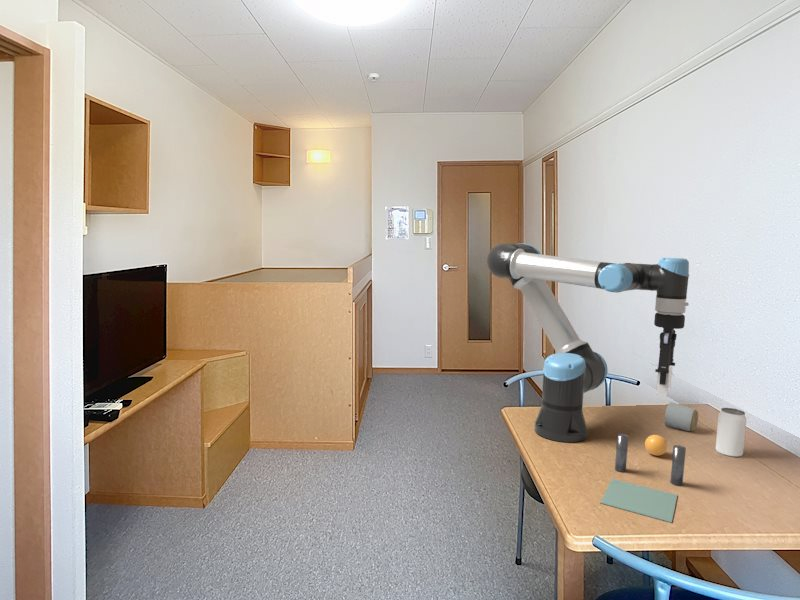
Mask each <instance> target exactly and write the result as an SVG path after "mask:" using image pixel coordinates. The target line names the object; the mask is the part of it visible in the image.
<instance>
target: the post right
mask: <svg viewBox="0 0 800 600" xmlns="http://www.w3.org/2000/svg"><path fill="white" fill-rule="evenodd" d="M686 450H687V448H686V447H685V446H683V445H680V444H679V445H678V444H675V445H673V448H672V460H671V472H670V484H672V485H673V486H678V487H682V486H683V483H684V473H685V472H684V471H685V462H686Z"/></svg>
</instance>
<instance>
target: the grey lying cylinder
mask: <svg viewBox="0 0 800 600" xmlns="http://www.w3.org/2000/svg"><path fill="white" fill-rule="evenodd" d="M698 420H699V412H698V410H697V409H695V408H693V407H690V406H686V405H682V404H680V403H676V402H671V401H669V403H668V404H667V406H666V409H665V414H664V425H665V427H668V426H669V428H672V429H673V428H674V429H678V430H681V429H682V431H687V432H694V431H695V430H696V428H697V424H698Z"/></svg>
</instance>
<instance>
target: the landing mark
mask: <svg viewBox="0 0 800 600" xmlns="http://www.w3.org/2000/svg"><path fill="white" fill-rule="evenodd" d="M677 498H678V494H675V493H672V492H668V491H663V490H659V489H655V488H651V487H647V486H643V485H639V484H635V483H632V482H631V483H630V482H627V481H624V480H623V481H622V480H619V479H616V478H615V479H614V478H611V481H610V483H609V484H608V485H607V489H606V490H605V492H604V494H603V496H602V498H601V499H600V504H602V505H606V506H609V507H612V508H615V509H619V510H623V511H627V512H631V513H634V514H638V515H641V516H644V517H648V518H653V519H656V520H660V521H662V522H666V523H671V524H672V522H673V519H674V513H675V507H676V504H677Z"/></svg>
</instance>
